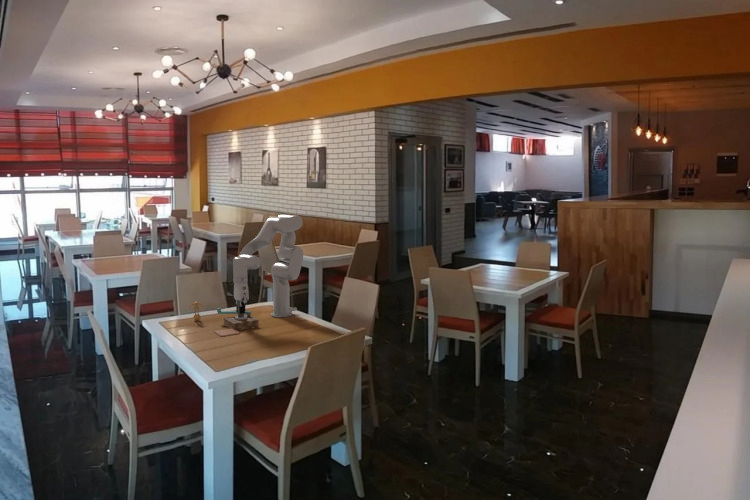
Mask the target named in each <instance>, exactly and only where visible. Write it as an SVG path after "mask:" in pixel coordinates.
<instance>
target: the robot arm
mask: <svg viewBox="0 0 750 500" xmlns="http://www.w3.org/2000/svg"><path fill="white" fill-rule="evenodd" d="M302 226H303V219H302V217H301V216H300V215H297V214H284V213H283V214H280V215H279V214H278V216H277V217H269V218H267V219H266V221H265V222H264V224H263V225H262V226H261V229H260V231H259V232H258V233H257V235H256V237H255V238H253V239H251V241H249V242H248V243H247V244H245V245H244V246H243V248H242V249H241V250H240V252H239V254H238V256H235V257H233V259H232V273H233V274H232V275H233V277H232V279H233V298H234V300H235V306H236V309H235V311H236V312H238V300H239V301H240V314H243V313H245V311H246V304H247V303H248V301H249V299H250V297H249V295H250V294H249V293H250V292H249V284H248V281H249V280H248V276H249V275H248V270H257V269H259V268H260V267H261V265H262V259H261V258H260V257H259V256H258V255H253V254H254V253H256V252H257V251H258V250H262V249H264V248H267V247H269V246H270V245H271V244H272V241H273V239H274V238H275V236H276V235H277V234H281V235H280V238H281V239H280V243H279V247H278V252H277V258H278V259H279V260H281V261H286V262H281V261H280V262H279V261H278V262H276V263H274V264H272V266H271V270H270V271H271V277H272V292H273V293H272V297H273V301H272V307H273V310H272V311H273V312H271V313H270V316H271V317H272V318H279V319H280V318H288V317H289V318H290V317H291V316H293V312H296V311H297V310H298V308H297V307H293V306H290V283H289V281H296V280H297V279H298V277H299V276H300V272H301V269H302V264H303V260H304V251H303V249H302V247H301V246H298V245H295V244H296V239H297V238H296V232H295V231H298V230H299V229H301V227H302ZM288 262H289V263H288ZM242 300H243V301H242Z"/></svg>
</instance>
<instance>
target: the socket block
mask: <svg viewBox="0 0 750 500" xmlns="http://www.w3.org/2000/svg"><path fill="white" fill-rule="evenodd" d="M251 314H252V313H251ZM251 314H244V316H247V319H245V320H241V321H237V320H236V319H235V317H236V316H237V315H235V316H230V317H229V316H228V317H223V326H225V327H226V328H228V329H234V330H236V331H240V330H241V331H242V330H246V329H253V328H259V319H258V318H255V317H253V316H251Z"/></svg>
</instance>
